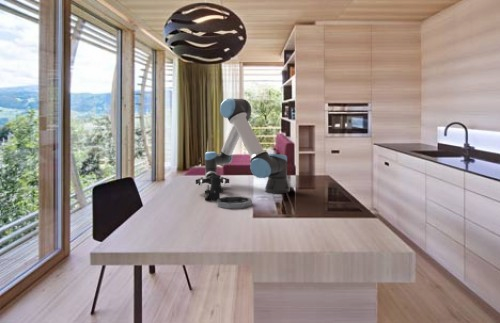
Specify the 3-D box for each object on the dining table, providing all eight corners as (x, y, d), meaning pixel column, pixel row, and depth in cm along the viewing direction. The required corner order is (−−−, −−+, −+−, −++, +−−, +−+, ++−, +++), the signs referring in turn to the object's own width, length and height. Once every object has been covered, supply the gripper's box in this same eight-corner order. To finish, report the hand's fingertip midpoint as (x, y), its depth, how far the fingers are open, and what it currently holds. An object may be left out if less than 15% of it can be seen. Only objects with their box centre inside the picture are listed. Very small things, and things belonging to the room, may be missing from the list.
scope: (206, 174, 225) (223, 174, 225) (206, 197, 227) (224, 198, 226) (203, 176, 217) (221, 176, 216) (204, 201, 219) (221, 201, 218)
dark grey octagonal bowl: (248, 200, 220) (248, 195, 220) (253, 207, 203) (253, 203, 202) (216, 201, 218) (216, 197, 218) (218, 209, 200) (218, 204, 200)
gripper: (231, 183, 254) (234, 189, 233) (191, 184, 251) (191, 190, 230) (231, 171, 253) (234, 176, 232) (191, 172, 250) (191, 177, 229)
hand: (213, 183), depth 231 cm, fingers open, 13 cm apart
